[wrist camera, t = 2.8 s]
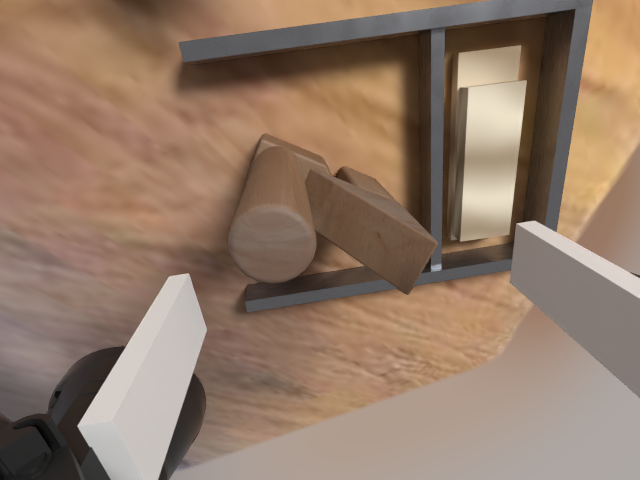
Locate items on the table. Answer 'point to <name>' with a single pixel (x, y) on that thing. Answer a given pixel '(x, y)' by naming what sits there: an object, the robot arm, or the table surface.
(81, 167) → the table surface
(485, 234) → the offcut stack
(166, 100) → the table surface
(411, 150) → the table surface
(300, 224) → the wooden block
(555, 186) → the tray
